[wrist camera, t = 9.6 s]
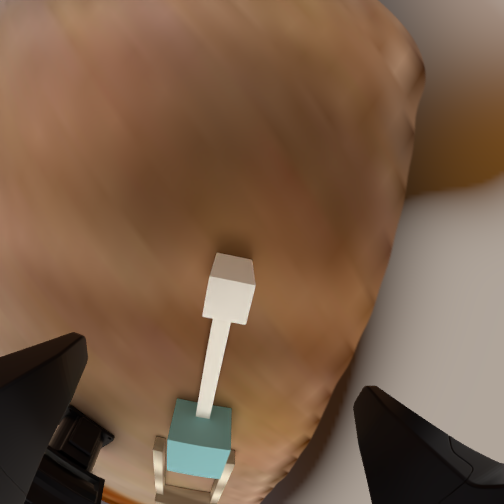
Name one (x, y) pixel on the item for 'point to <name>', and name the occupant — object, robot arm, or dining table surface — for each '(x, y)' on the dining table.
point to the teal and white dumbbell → (212, 376)
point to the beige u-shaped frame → (180, 499)
